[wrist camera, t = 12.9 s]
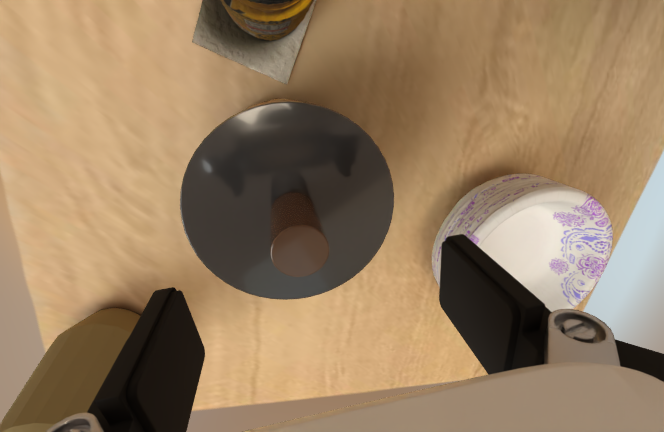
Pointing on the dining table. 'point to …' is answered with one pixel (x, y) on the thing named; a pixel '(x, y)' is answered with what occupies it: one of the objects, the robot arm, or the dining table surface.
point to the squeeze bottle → (71, 372)
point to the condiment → (255, 32)
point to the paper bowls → (535, 235)
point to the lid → (286, 200)
